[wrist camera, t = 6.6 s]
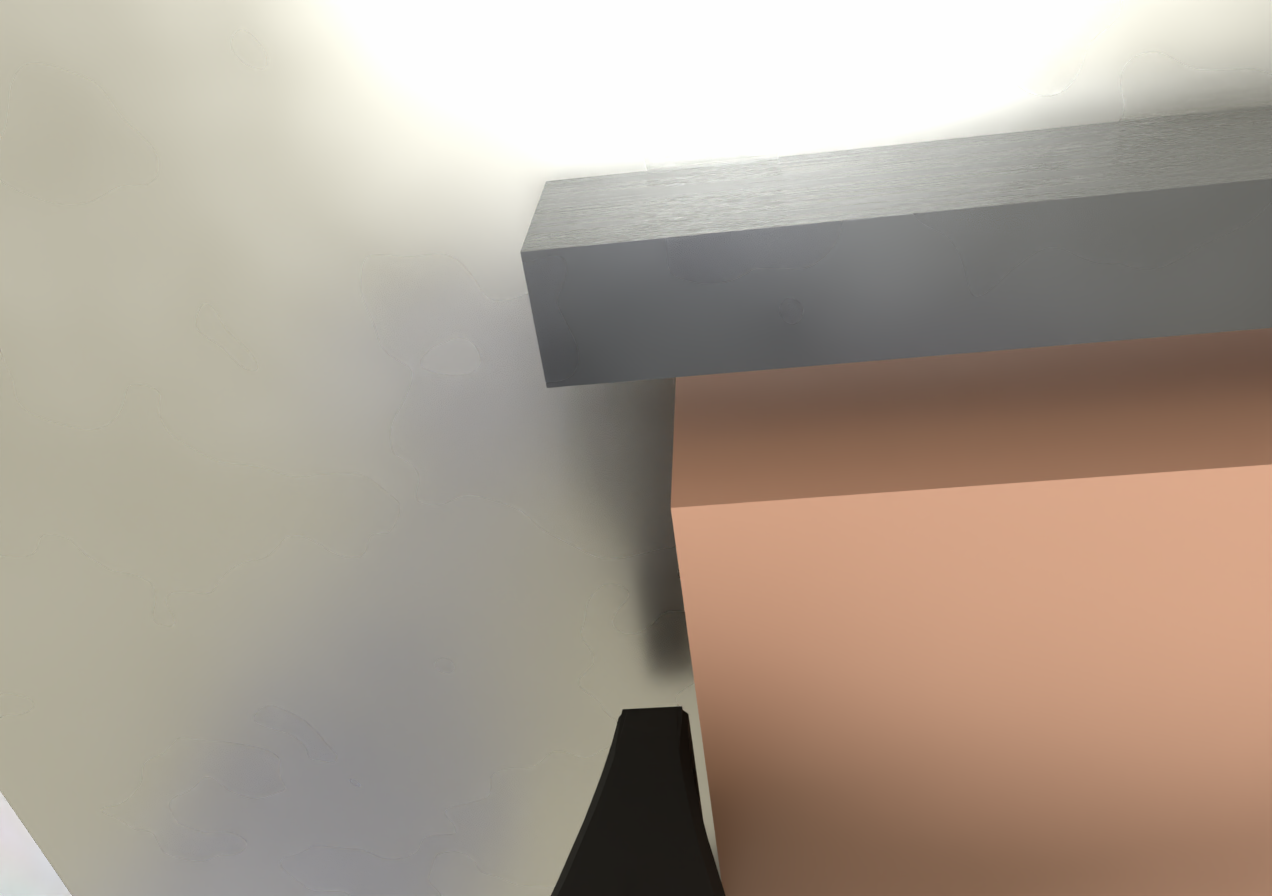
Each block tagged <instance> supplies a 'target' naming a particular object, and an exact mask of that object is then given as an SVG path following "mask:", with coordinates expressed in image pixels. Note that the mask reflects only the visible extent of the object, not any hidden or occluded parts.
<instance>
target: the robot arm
mask: <svg viewBox="0 0 1272 896" xmlns="http://www.w3.org/2000/svg"><path fill="white" fill-rule="evenodd" d="M551 896H726V895H725V892H724V889H723V886H722V882H721V879H720V876H719V873H718V869H717V866H716V863H715V860H714V856H713V853H712V850H711V847H710V843H709V840H708V837H707V833H706V829H705V825H704V822H703V815H702V807H701V800H700V793H699V786H698V779H697V772H696V764H695V757H694V750H693V743H692V736H691V729H690V721H689V714H688V713H687V712H685V711H684V710H683V708H682V706H675V707H656V708H636V709H622V714H621V715H620V716H619V718H618V722H617V725H616V729H615V733H614V737H613V740H612V743H611V747H610V750H609V753H608V756H607V759H606V762H605V765H604V768H603V771H602V774H601V777H600V780H599V782H598V785H597V788H596V790H595V793H594V796H593V798H592V801H591V803H590V806H589V808H588V811H587V814H586V816H585V819H584V821H583V824H582V826H581V828H580V830H579V833H578V835H577V837H576V840H575V842H574V844H573V847H572V849H571V851H570V853H569V856H568V858H567V860H566V863H565V865H564V867H563V869H562V872H561V874H560V876H559V879H558V881H557V883H556V885H555V887H554V889H553V892H552V894H551Z"/></svg>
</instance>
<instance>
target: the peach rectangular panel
mask: <svg viewBox="0 0 1272 896" xmlns="http://www.w3.org/2000/svg"><path fill="white" fill-rule="evenodd" d="M671 514H672V521H673V529H674V536H675V543H676V551H677V558H678V565H679V573H680V580H681V588H682V595H683V602H684V610H685V617H686V624H687V632H688V639H689V646H690V654H691V661H692V668H693V676H694V683H695V691H696V698H697V705H698V713H699V720H700V727H701V735H702V742H703V749H704V757H705V764H706V771H707V779H708V786H709V793H710V801H711V808H712V816H713V823H714V830H715V838H716V845H717V852H718V860H719V867H720V874H721V882H722V886H723V889H724V892H725V895H726V896H1272V328H1264V329H1252V330H1240V331H1228V332H1216V333H1204V334H1192V335H1180V336H1168V337H1156V338H1144V339H1132V340H1120V341H1108V342H1096V343H1084V344H1072V345H1060V346H1047V347H1035V348H1023V349H1011V350H999V351H987V352H975V353H963V354H951V355H939V356H927V357H915V358H903V359H891V360H879V361H867V362H854V363H842V364H830V365H818V366H806V367H794V368H782V369H770V370H758V371H746V372H734V373H722V374H710V375H698V376H686V377H676V385H675V411H674V436H673V462H672V487H671Z"/></svg>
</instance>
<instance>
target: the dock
mask: <svg viewBox="0 0 1272 896" xmlns="http://www.w3.org/2000/svg"><path fill="white" fill-rule="evenodd" d="M1264 328H1272V0H0V791H1V793H2V794H3V795H4V797H5V798H6V800H7V801H8V803H9V804H10V806H11V807H12V809H13V810H14V811H15V813H16V814H17V816H18V817H19V819H20V820H21V822H22V823H23V825H24V826H25V828H26V829H27V830H28V832H29V833H30V835H31V836H32V838H33V839H34V841H35V842H36V844H37V845H38V847H39V848H40V849H41V851H42V852H43V854H44V855H45V857H46V858H47V860H48V861H49V863H50V864H51V866H52V867H53V868H54V870H55V871H56V873H57V874H58V876H59V877H60V879H61V880H62V882H63V883H64V884H65V886H66V887H67V889H68V890H69V892H70V893H71V895H72V896H551V894H552V892H553V889H554V887H555V885H556V883H557V881H558V879H559V876H560V874H561V872H562V869H563V867H564V865H565V863H566V860H567V858H568V856H569V853H570V851H571V849H572V847H573V844H574V842H575V840H576V837H577V835H578V833H579V830H580V828H581V826H582V824H583V821H584V819H585V816H586V814H587V811H588V808H589V806H590V803H591V801H592V798H593V796H594V793H595V790H596V788H597V785H598V782H599V780H600V777H601V774H602V771H603V768H604V765H605V762H606V759H607V756H608V753H609V750H610V747H611V743H612V740H613V737H614V733H615V729H616V725H617V722H618V718H619V716H620V715H621V714H622V709H636V708H656V707H675V706H682V708H683V710H684V711H685V712H687V713H688V714H689V721H690V729H691V736H692V743H693V750H694V757H695V764H696V772H697V779H698V786H699V793H700V800H701V807H702V815H703V822H704V825H705V829H706V833H707V837H708V840H709V843H710V847H711V850H712V853H713V856H714V860H715V863H716V866H717V869H718V873H719V876H720V879H721V874H720V867H719V860H718V852H717V845H716V838H715V830H714V823H713V816H712V808H711V801H710V793H709V786H708V779H707V771H706V764H705V757H704V749H703V742H702V735H701V727H700V720H699V713H698V705H697V698H696V691H695V683H694V676H693V668H692V661H691V654H690V646H689V639H688V632H687V624H686V617H685V610H684V602H683V595H682V588H681V580H680V573H679V565H678V558H677V551H676V543H675V536H674V529H673V521H672V514H671V487H672V462H673V436H674V411H675V385H676V377H686V376H698V375H710V374H722V373H734V372H746V371H758V370H770V369H782V368H794V367H806V366H818V365H830V364H842V363H854V362H867V361H879V360H891V359H903V358H915V357H927V356H939V355H951V354H963V353H975V352H987V351H999V350H1011V349H1023V348H1035V347H1047V346H1060V345H1072V344H1084V343H1096V342H1108V341H1120V340H1132V339H1144V338H1156V337H1168V336H1180V335H1192V334H1204V333H1216V332H1228V331H1240V330H1252V329H1264Z"/></svg>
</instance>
